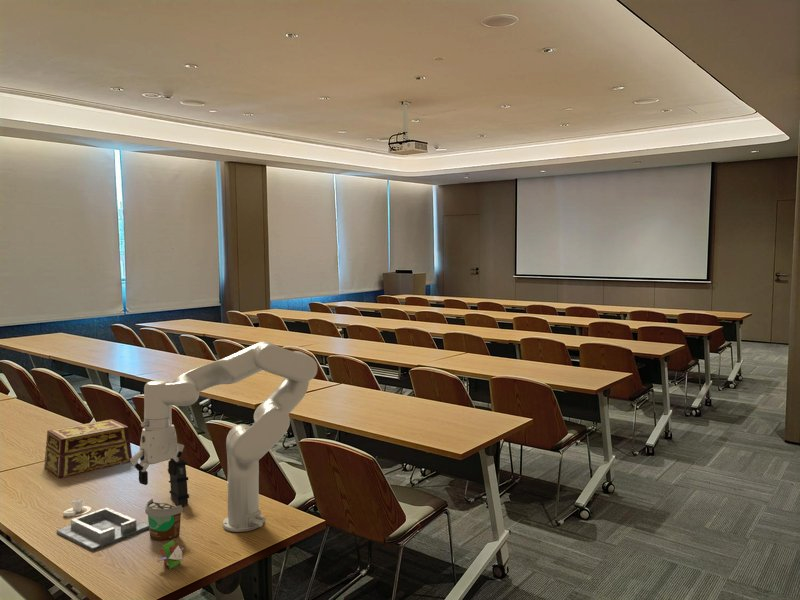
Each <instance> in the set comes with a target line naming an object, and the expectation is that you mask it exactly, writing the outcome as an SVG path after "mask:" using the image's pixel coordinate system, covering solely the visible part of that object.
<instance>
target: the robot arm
mask: <svg viewBox="0 0 800 600" xmlns="http://www.w3.org/2000/svg"><path fill="white" fill-rule="evenodd" d="M262 371H264V372H266V373H269V374H272V375H275V376H278V377H282V378H283V380H282V381H281V383H280V385H278V387H277V388H276V389H275V390H274V391H273V392H272V393H271V394H270V395H269V396H268V397H266V399H265V400H263V401H262V402H261V404H259V405H258V406H257V407H256V409H255V411H254V413H253V421H254V422H253V423H252V425H249V424H244V423H240V424H237V425H235V426H233V427H232V428H230V430H229V432H228V434H227V436H226V441H225V446H226V447H225V449H226V459H227V462H226V463H227V517H225V518H224V519H223V520H222V527H223V528H224V529H225V530H226V531H228V532H234V533H243V532H244V533H245V532H250V531H253V530H256V529H258V528H260V527H263V524H264V523H265V522H266V521H267V519H266V517H265V516H263V515H262V511H261V509H260V505H259V503H260V502H259V501H260V500H259V499H260V496H259V494H260V491H259V486H260V485H259V483H260V482H259V481H260V479H259V475H260V471H259V469H260V466H259V464H260V463H259V461H260V459H262V458H263V457H264V456H265V455H266V454H267V453H268V452H269V451H270V450H271V449H272V448H273V447H274V446H275V445H276V444H277V443H278V442H279V441H280V440H281V439H282V438H283V437H284V436H285V435H286V433H287V431H288V429H289V427H290V424H291V423H290V422H291V418H290V415H289V414H291V412H292V411H294V409H296V407H297V406H298V405H299V404H300V403H301V401H303V399H304V398H305V396H306V393H307V392H308V389H309V384H310V381H311V380H314V378H315V377H316V376H317V374H318V363H317V362H316V361H315V359H314V357H312V356H310V355H308V354H306V353H304V352H303V351H300V350H294V351H293V350H289V349H287V348H283V347H281V346H279V345H276V344H275V343H273V342H271V341H268V340H267V341H266V340H265V341H264V340H263V341H259V342H258V343H255V344H252V345H250V346H248V347H246V348H244V349H242V350H239V351H237V352H234V353H232V354H230V355H229V356H226V357H223V358H221V359H218V360H215V361H212V362H210V363H207V364H203V365H201V366H198V367H196V368H194V369H190V370H189V371H187V372H185V373H183V374H181V375H179V376H177V377H176V378H175V379H173V381H172V382H169V381H168V380H164V379H163V380H160V379H159V380H151V381H147V382H146V383H145V384H144V387H143V392H144V393H143V397H144V398H143V402H144V403H143V404H144V405H143V406H144V407H143V410H144V411H143V417H144V418H143V421H142V422H141V423H140V426H141V427H142V430H141V436H140V443H139V451H138V452H136V453H135V454H134V455H132V458H131V459H130V461H131V462H130V463H131V464H132V467H133V468H134V469H136V470H137V471H138V483H139V484H141V485H144V486H147V485H148V484H149V475H148V474H149V472H148V471H147V469H148V468H149V466H150V465H156V464H159V463H163V462H165V461H168V468H167V472H168V474H169V475H170V474H171V475H174V476H175V475H177V462H178V461H179V460H180V457H181V456H182V454H183V451H184V449H185V445H184V444H181V443H179V442H178V436H177V432H176V428H175V425H174V424H172V423H173V422H172V406H176V407H189V406H192V405H194V404H195V403H196V402H197V401H199V397H200V393H201V392H202V391H205V390H207V389H210V388H212V387H215V386H220V385H232V384H237V383H239V382H241V381H243V380H245V379H247V378H249V377H251V376H254V375H256V374H258V373H260V372H262ZM139 460H140V462H139Z"/></svg>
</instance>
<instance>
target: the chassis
mask: <svg viewBox="0 0 800 600" xmlns="http://www.w3.org/2000/svg"><path fill="white" fill-rule="evenodd" d="M147 530H149V524H147V523H145V522H142V521H140V520H138V519H135V518H133V517H130V516H128V515H126V514H125V513H124V514H123V513H121V512H119V511H117V510H115V509H111V508H109V507H104V508H101V509H97V510H94V511H93V512H88V513H85V514H83V515H79V516H76V517H75V518H72V519H70V525H67V526H64V527H62V528H59V529H57V530H56V534H57V535H59V536H61V537H64V538H65V539H67V540H70V541H71V542H73V543H75V544H77V545H79V546H81V547H83V548H85V549H87V550H89V551H91V552H95V551H98V550H100V549H103V548H105V547H107V546H110V545H112V544H114V543H117V542H119V541H123V540H124V539H127V538H130V537H132V536H133V537H134V536H135V535H137V534H140V533H143V532H144V531H147Z"/></svg>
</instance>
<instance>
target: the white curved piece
mask: <svg viewBox="0 0 800 600" xmlns="http://www.w3.org/2000/svg"><path fill="white" fill-rule="evenodd" d="M85 503H86V499H84V498H75V499H72V500H71V505H72V507H70V508H68V509H66V510H64V511H63V512H62V515H63V516H65V517H79V516H83V515H86V514H89V513H90V512H91V510H92V507H91V506H89V505H88V506H87V505H85ZM82 509H86V511H84V512H82ZM80 512H82V513H80ZM77 513H78V514H77Z"/></svg>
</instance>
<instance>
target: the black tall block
mask: <svg viewBox="0 0 800 600" xmlns="http://www.w3.org/2000/svg"><path fill="white" fill-rule="evenodd" d="M187 463H188V462H187V461H185V458H183V459H179V461H178V462H177V475H175V476H174V475H171V474H169V481H168V483H170V490H169V492H168V493H169V494H170V497H171V498H172V500H173V502H175V504H176V506H180V505H182V507H185V506H188V505H189V503H188V502H189V499H190V494H189V493H188V481H189V477H188V476H187V469H186V468H187V467H186V466H187Z"/></svg>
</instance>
